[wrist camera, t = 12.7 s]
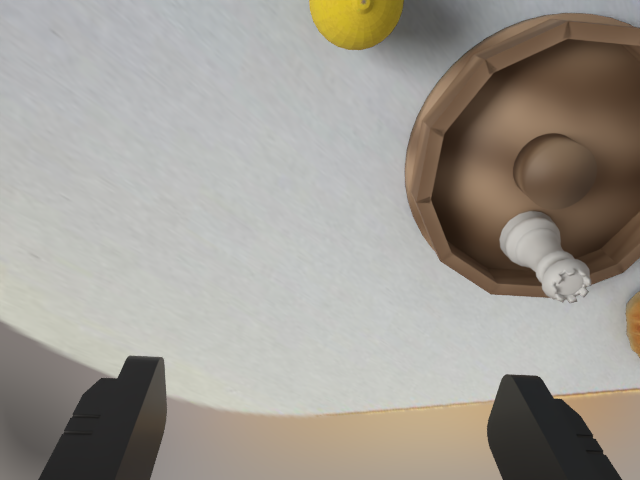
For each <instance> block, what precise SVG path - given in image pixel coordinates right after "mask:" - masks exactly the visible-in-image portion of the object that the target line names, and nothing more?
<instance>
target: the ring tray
mask: <svg viewBox="0 0 640 480" xmlns="http://www.w3.org/2000/svg"><path fill="white" fill-rule="evenodd" d="M405 187H406V192H407V198H408V203H409V206H410V209H411V212H412V215H413V217H414V219H415V221H416V223H417V225H418V227H419V229H420V231H421V233H422V235H423V236H424V238H425V239H426V241H427V242H428V243H429V245H430V246H431V247H432V249H433V250H434V251H435V252H436V254H437V256H438V258H439V260H440V261H441V262H442V263H444V264H445V265H447V266H449V267H450V268H452V269H453V270H455V271H456V272H458V273H459V274H461V275H462V276H464V277H465V278H467V279H468V280H470V281H471V282H473V283H475V284H476V285H478V286H479V287H481V288H482V289H484V290H485V291H487V292H488V293H490V294H495V295H512V296H529V297H546V298H550V297H548V296H547V295H546V294H545V293H544V291H543V290H542V283H541V282H540V281H539V280H538V278H537V277H536V272H535V271H534V270H532V269H531V268H529V267H525V266H520V265H518V264H516V263H514V262H512V261H511V260H510V259H509V258H508V257H507V256H506V255H505V254H504V252H503V251H502V250H501V247H500V240H499V239H500V236H501V232H502V229H503V228H504V227H505V225H506V224H507V223H508V222H509V220H511V219H512V218H514V217H515V216H517V215H518V214H521V213H525V212H528V211H536V212H542V213H544V214H546V215H548V216H549V217H550V218H551V219H552V221H553V222H554V223H555V224H556V226H557V227H558V229H559V231H560V239H561V242H560V244H561V247H562V249H563V251H564V252H568V253H569V254H571V255H572V256H573V257H574V259H578V260H580V261H582V262H584V263H585V264H586V265H587V267H588V268H589V271H590V279H591V285H592V284H595V283H597V282H600V281H602V280H605V279H608V278H610V277H613V276H616V275H618V274H621V273H623V272H624V271H626V270H627V269H628V268H629V267H630V266H631V265H632V264H633V263H634V262H635V261H636V260H637V259H639V258H640V28H637V27H633V26H631V25H630V24H627V23H624V22H621V21H619V20H616V19H613V18H609V17H604V16H598V15H593V14H583V13H560V14H552V15H544V16H540V17H536V18H532V19H528V20H524V21H522V22H519V23H516V24H514V25H511V26H509V27H506V28H504V29H502V30H500V31H499V32H497V33H495V34H493V35H491V36H489V37H488V38H486V39H484V40H483V41H481V42H480V43H479V44H477V45H476V46H474V47H473V48H472V49H470V50H469V51H468V52H466V53H465V54H464V55H463V56H462V57H461V58H460V59H459V60H458V61H457V62H455V63H454V64H453V65H452V66H451V67H450V68H449V70H448V71H447V72H446V73H445V74H444V75H443V76H442V78H441V79H440V80H439V81H438V82H437V84H436V85H435V87H434V88H433V90H432V91H431V93H430V94H429V96H428V97H427V99H426V101H425V102H424V104H423V106H422V108H421V110H420V112H419V114H418V116H417V118H416V121H415V124H414V126H413V129H412V132H411V135H410V139H409V143H408V147H407V152H406V162H405ZM586 287H587V286H586Z"/></svg>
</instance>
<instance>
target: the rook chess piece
mask: <svg viewBox="0 0 640 480" xmlns="http://www.w3.org/2000/svg"><path fill="white" fill-rule="evenodd" d="M499 240H500V247H501V250H502V251H503V252H504V254H505V255H506V256H507V257H508V258H509V259H510V260H511V261H512V262H514V263H516V264H518V265H520V266H525V267H529V268H531V269H532V270H534V271H535V272H536V277H537V278H538V280H539V281H540V282H541V283H542V290H543V291H544V293H545V294H546V295H547V296H548V297H550V298H552V299H557V300H559V301H561V302H564V300H566V299H567V300H568V302H569V303H573V302H577V299H576V296H577V295H579V294H581V295H582V296H583V297H585V296H586V295H587V293H588V292H589V291H588V290H587V289H586V286H591V279H590V271H589V268H588V267H587V265H586V264H585V263H584V262H582V261H580V260H578V259H574V257H573V256H572V255H571V254H569V253H568V252H564V251H563V249H562V247H561V244H560V242H561V239H560V231H559V229H558V227H557V226H556V224H555V223H554V222H553V221H552V219H551V218H550V217H549V216H548V215H546V214H544V213H542V212H536V211H528V212H525V213H521V214H518V215H517V216H515V217H514V218H512V219H511V220H509V222H508V223H507V224H506V225H505V227H504V228H503V229H502V232H501V236H500V239H499Z"/></svg>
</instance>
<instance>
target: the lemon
mask: <svg viewBox="0 0 640 480" xmlns="http://www.w3.org/2000/svg"><path fill="white" fill-rule="evenodd" d="M309 2H310V11H311V15H312V18H313V21H314V23H315V25H316V27H317V28H318V30H319V32H320V33H321V34H322V35H323V36H324V37H325V38H326V39H327V40H328V41H329V42H331V43H333V44H334V45H336V46H338V47H341V48H345V49H348V50H362V49H366V48H370V47H373V46H375V45H376V44H378V43H380V42H382V41H383V40H384V39H385V38H386V37H387V36H388V35H389V34H390V33H391V32H392V31H393V29H394V28H395V26H396V25H397V23H398V21H399V18H400V16H401V13H402V9H403V2H404V0H309Z"/></svg>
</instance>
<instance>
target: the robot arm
mask: <svg viewBox="0 0 640 480" xmlns="http://www.w3.org/2000/svg"><path fill="white" fill-rule="evenodd" d="M166 414H167V403H166V384H165V366H164V359H163V358H162V357H147V356H129V357H128V358H127V359H126V361H125V363H124V365H123V368H122V370H121V372H120V374H119V376H118V378H117V379H115V378H101V379H100V380H99V381H97V382H96V383H95V384H94V385H93V386H92V387H91V388H90V389H89V390H87V391H86V392H85V393H84V394H83V395H82V397H81V399H80V401H79V403H78V405H77V407H76V409H75V411H74V413H73V417H72V418H70V420H69V422H68V424H67V426H66V428H65V430H64V434H62V436H61V437H60V439H59V442H58V443H57V445H56V447H55V449H54V451H53V453H52V455H51V457H50V459H49V460H48V462H47V464H46V466H45V468H44V470H43V472H42V474H41V476H40V478H39V479H38V480H150V477H151V474H152V471H153V467H154V464H155V461H156V458H157V454H158V451H159V447H160V444H161V440H162V437H163V433H164V429H165V423H166ZM487 436H488V442H489V446H490V449H491V452H492V454H493V457H494V459H495V462H496V464H497V466H498V469H499V471H500V474H501V476H502V479H503V480H622V479H621V477H620V476H619V474H618V473H617V471H616V470H615V468H614V467H613V465H612V464H611V462H610V461H609V459H608V457H607V456H606V455H604V454H603V450H602V448H601V447H600V445H599V444H598V442H597V441H596V439H593V434H592V433H591V431H590V430H589V428H588V427H587V425H586V424H585V422H584V421H583V419H582V418H581V416H580V415H579V414H578V413H577V412H575V411H574V410H573V409H572V408H571V407H570V406H569V405H567V404H566V403H565V402H564V401H563V400H562V399H554V398H553V397H552V395H551V393H550V392H549V390H548V388H547V387H546V385H545V383H544V382H543V380H542V379H541V378H540V377H538V376H530V375H509V374H507V375H505V376H504V377H503V378H502V380H501V382H500V386H499V389H498V392H497V395H496V398H495V401H494V404H493V407H492V410H491V414H490V417H489V420H488V425H487Z"/></svg>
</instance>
